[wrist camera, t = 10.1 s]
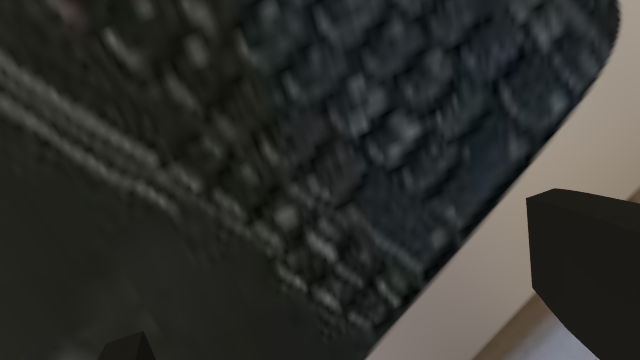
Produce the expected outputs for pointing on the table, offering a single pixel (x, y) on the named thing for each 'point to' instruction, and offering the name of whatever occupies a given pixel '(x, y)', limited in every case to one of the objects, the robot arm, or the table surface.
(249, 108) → the table surface
